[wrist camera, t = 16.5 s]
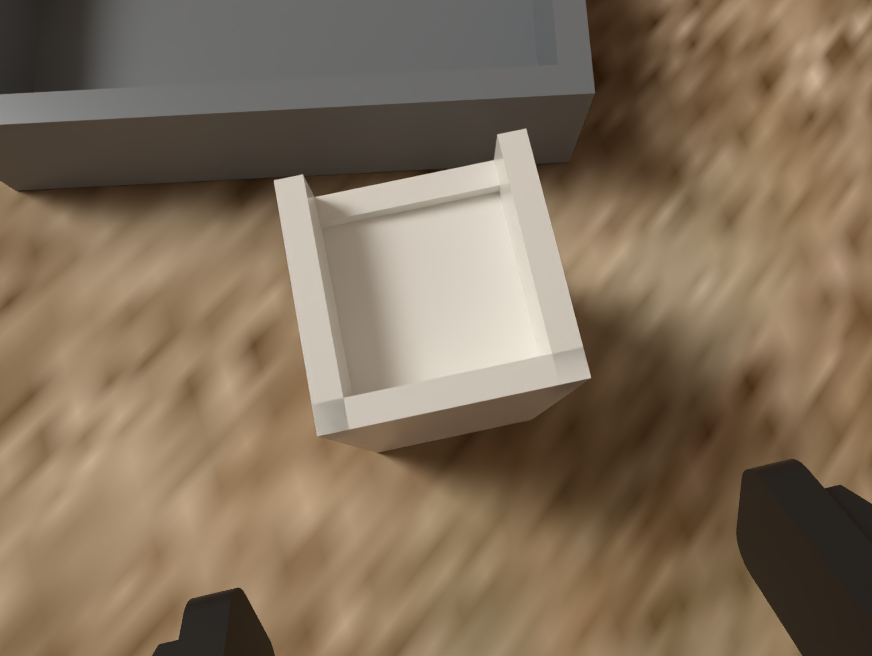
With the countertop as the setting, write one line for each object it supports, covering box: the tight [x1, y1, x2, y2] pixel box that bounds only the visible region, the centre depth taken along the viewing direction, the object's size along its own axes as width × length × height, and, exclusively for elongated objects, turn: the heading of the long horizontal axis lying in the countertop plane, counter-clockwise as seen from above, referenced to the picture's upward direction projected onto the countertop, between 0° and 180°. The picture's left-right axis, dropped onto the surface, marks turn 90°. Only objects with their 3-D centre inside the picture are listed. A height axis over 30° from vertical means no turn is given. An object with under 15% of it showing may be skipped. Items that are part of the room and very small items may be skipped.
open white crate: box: [274, 129, 591, 453], centre depth 18 cm, size 5×5×10 cm
